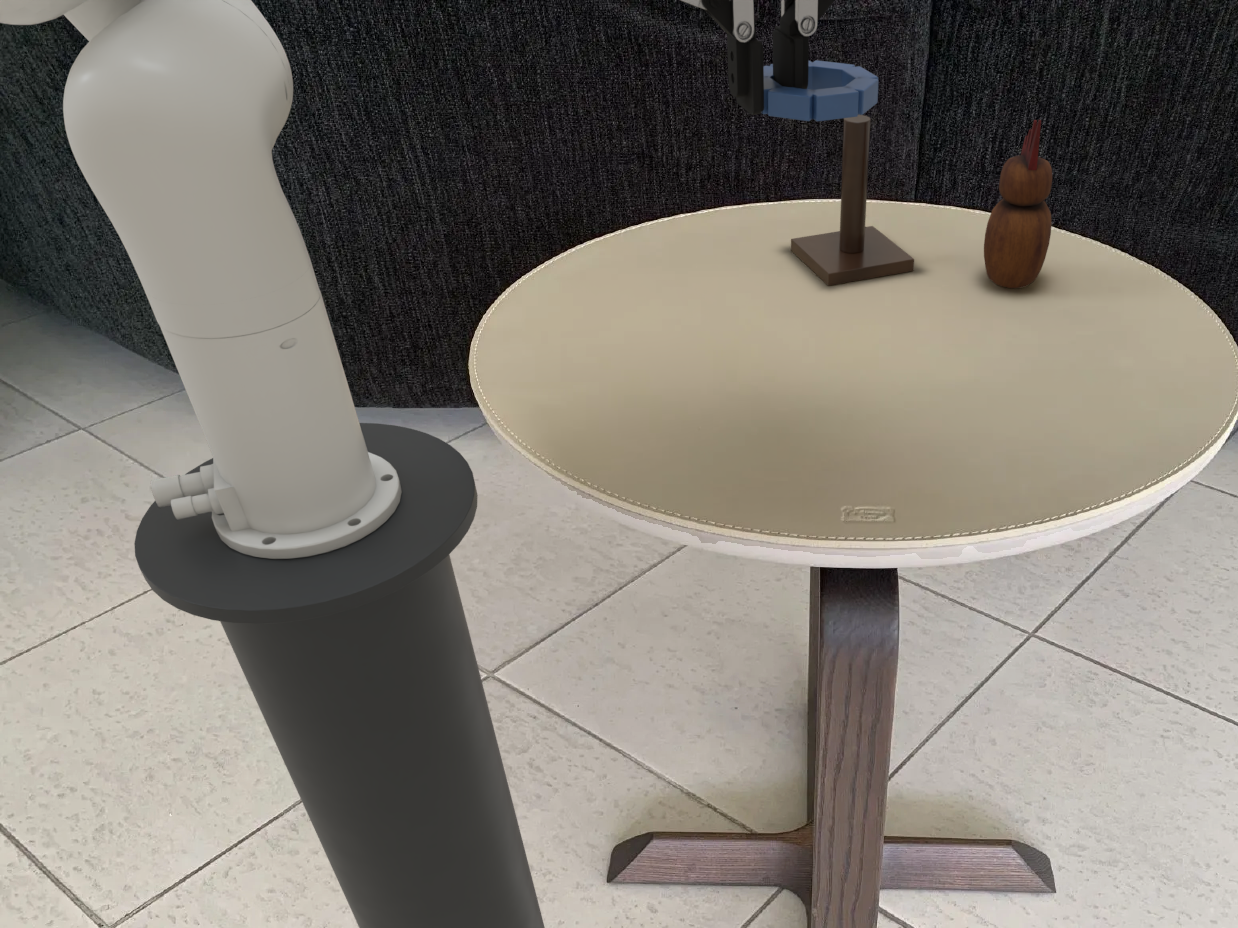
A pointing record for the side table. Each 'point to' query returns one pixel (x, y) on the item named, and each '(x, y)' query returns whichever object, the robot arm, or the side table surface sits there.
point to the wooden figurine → (1020, 218)
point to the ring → (822, 93)
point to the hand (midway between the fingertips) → (768, 103)
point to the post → (852, 224)
